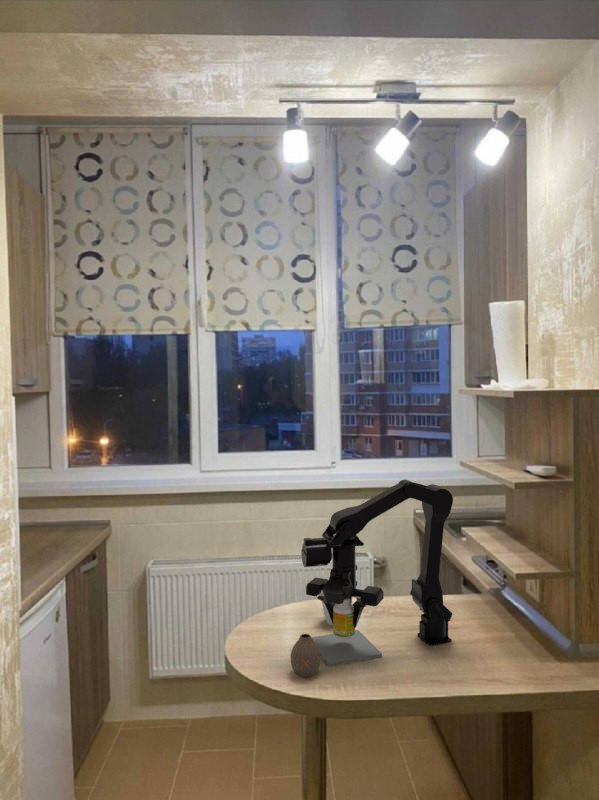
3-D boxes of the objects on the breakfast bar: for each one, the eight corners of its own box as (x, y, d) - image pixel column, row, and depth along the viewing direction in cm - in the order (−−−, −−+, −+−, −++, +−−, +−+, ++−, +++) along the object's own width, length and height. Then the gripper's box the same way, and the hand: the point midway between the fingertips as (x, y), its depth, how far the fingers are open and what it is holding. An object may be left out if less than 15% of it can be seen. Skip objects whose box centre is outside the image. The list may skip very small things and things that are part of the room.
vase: (291, 665, 144) (291, 629, 144) (320, 665, 144) (320, 629, 144) (289, 680, 137) (289, 642, 137) (320, 680, 137) (320, 642, 137)
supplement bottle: (348, 641, 149) (348, 602, 148) (329, 636, 151) (329, 598, 151) (358, 633, 153) (358, 595, 153) (339, 628, 156) (339, 591, 155)
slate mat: (357, 632, 161) (357, 629, 161) (381, 656, 148) (382, 653, 148) (308, 640, 157) (308, 637, 157) (328, 666, 144) (328, 663, 144)
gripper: (295, 568, 148) (296, 631, 149) (368, 579, 140) (369, 645, 141) (314, 555, 158) (315, 614, 159) (384, 564, 150) (384, 626, 151)
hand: (344, 625), depth 152 cm, fingers closed on supplement bottle, 5 cm apart
